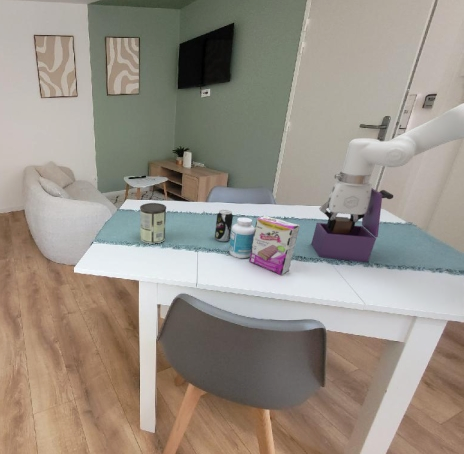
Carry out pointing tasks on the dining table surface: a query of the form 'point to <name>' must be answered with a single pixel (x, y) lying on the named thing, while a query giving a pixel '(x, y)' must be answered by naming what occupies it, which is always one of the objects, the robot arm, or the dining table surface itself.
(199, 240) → the dining table surface
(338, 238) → the box
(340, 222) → the block
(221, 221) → the beverage can
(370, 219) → the lid
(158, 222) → the coffee can
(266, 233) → the candy bar box
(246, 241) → the pill bottle
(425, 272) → the dining table surface
